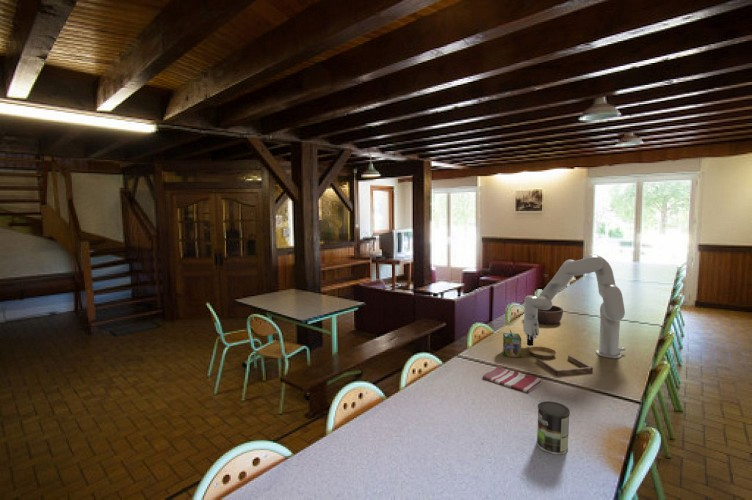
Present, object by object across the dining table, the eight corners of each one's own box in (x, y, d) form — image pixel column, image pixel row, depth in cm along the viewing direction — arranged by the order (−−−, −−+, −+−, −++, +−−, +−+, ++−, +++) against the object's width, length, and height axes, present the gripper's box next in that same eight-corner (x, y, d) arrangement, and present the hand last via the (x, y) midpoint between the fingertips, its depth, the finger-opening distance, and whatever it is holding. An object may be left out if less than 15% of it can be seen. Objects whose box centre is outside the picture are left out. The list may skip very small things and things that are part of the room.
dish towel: (498, 369, 205) (498, 365, 205) (542, 383, 188) (542, 378, 188) (481, 379, 193) (482, 374, 193) (527, 395, 177) (528, 389, 176)
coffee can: (546, 455, 132) (547, 416, 130) (531, 438, 142) (532, 401, 141) (574, 453, 133) (576, 414, 131) (558, 436, 143) (559, 400, 142)
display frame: (569, 359, 216) (569, 355, 216) (592, 372, 199) (592, 367, 199) (536, 362, 213) (536, 358, 212) (556, 375, 195) (556, 371, 195)
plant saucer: (524, 350, 232) (525, 346, 232) (549, 350, 231) (549, 346, 231) (534, 359, 217) (534, 355, 217) (560, 359, 217) (560, 355, 217)
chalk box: (521, 357, 220) (521, 332, 218) (504, 356, 222) (505, 331, 220) (518, 352, 229) (519, 327, 227) (502, 351, 231) (503, 327, 229)
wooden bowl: (569, 325, 280) (569, 311, 279) (534, 326, 280) (534, 312, 279) (553, 316, 305) (554, 303, 304) (521, 316, 305) (522, 304, 304)
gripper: (543, 319, 228) (542, 349, 230) (529, 312, 243) (528, 340, 244) (532, 319, 227) (531, 350, 228) (518, 313, 241) (517, 341, 243)
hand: (530, 345), depth 236 cm, fingers closed
